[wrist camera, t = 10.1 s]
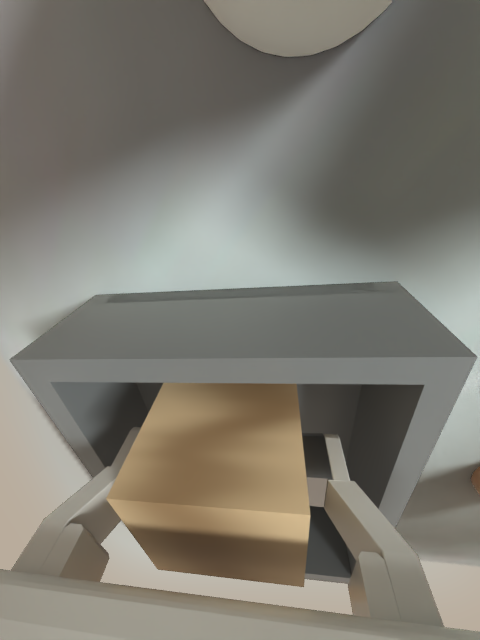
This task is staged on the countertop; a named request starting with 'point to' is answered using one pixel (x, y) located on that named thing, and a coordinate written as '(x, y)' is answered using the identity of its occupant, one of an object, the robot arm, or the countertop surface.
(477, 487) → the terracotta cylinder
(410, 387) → the tote
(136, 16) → the countertop surface
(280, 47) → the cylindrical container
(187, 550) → the oak cube
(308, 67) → the countertop surface
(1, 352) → the countertop surface
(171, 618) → the robot arm
